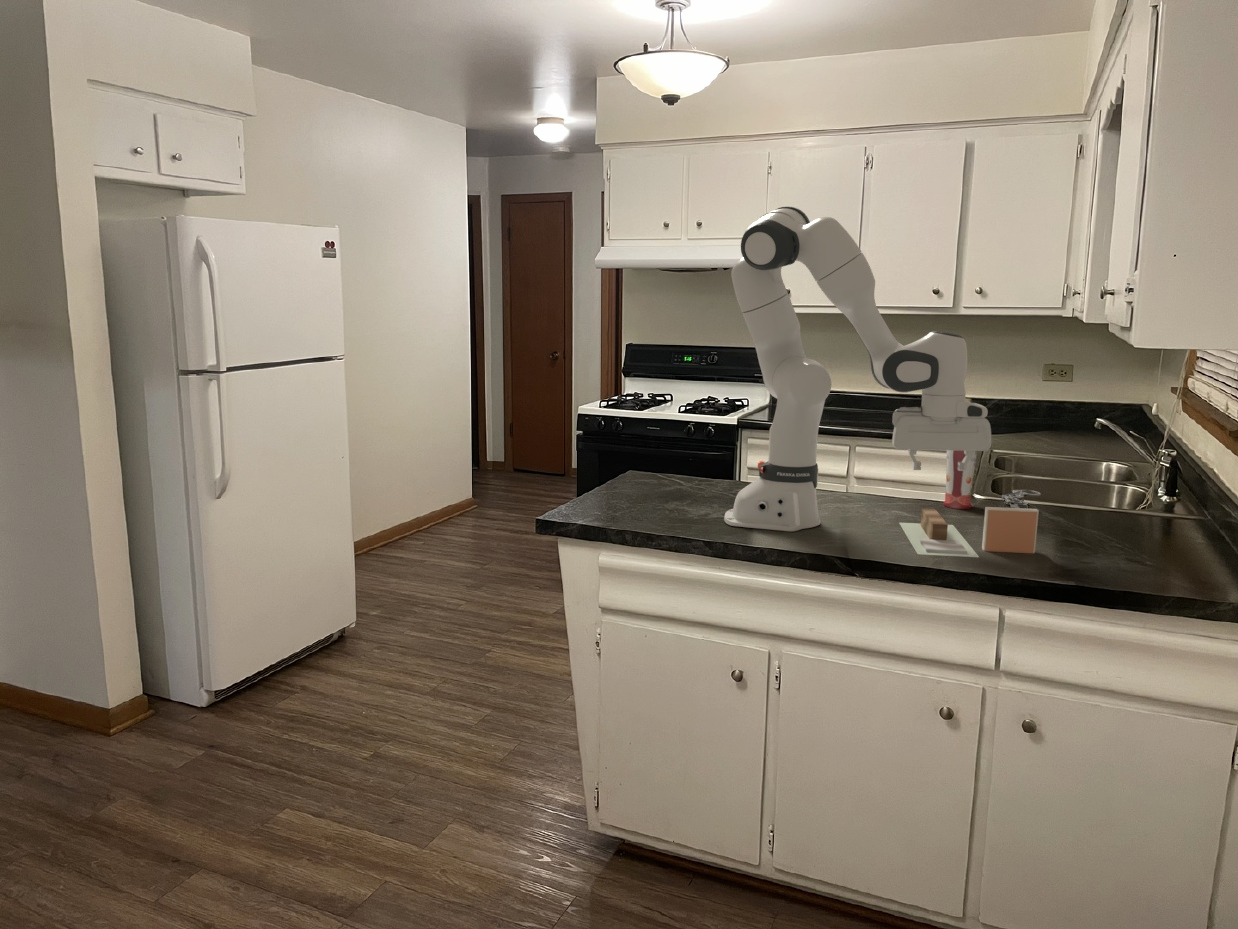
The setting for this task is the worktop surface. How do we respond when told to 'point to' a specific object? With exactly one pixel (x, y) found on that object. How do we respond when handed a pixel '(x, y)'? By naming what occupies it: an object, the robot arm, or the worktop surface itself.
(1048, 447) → the worktop surface
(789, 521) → the robot arm
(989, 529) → the tile
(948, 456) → the liquor
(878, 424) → the worktop surface
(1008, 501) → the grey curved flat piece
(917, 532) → the plate
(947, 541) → the turner
